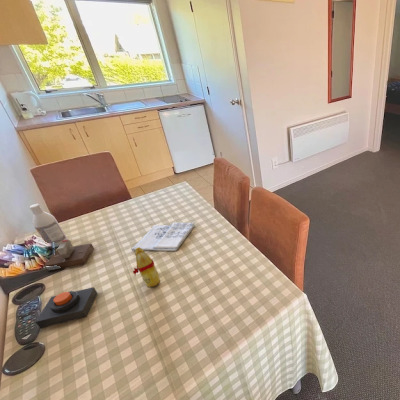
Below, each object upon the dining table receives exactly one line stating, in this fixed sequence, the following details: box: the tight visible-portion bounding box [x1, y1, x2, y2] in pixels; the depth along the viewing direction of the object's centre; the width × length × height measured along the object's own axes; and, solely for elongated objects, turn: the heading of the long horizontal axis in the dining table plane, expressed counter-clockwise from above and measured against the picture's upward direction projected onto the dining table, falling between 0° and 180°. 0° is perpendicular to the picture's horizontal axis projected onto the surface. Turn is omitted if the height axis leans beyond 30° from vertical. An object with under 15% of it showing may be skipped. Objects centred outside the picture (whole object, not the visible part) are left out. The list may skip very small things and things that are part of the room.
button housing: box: [35, 286, 99, 329], centre depth 86 cm, size 12×10×5 cm
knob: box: [56, 239, 74, 259], centre depth 106 cm, size 6×2×5 cm, turn 19°
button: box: [53, 291, 72, 306], centre depth 85 cm, size 4×4×2 cm
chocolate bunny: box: [132, 247, 161, 288], centre depth 95 cm, size 7×11×15 cm, turn 41°
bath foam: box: [29, 203, 69, 245], centre depth 112 cm, size 7×7×20 cm
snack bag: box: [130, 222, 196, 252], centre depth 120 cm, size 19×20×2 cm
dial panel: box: [44, 242, 95, 272], centre depth 108 cm, size 12×10×3 cm
